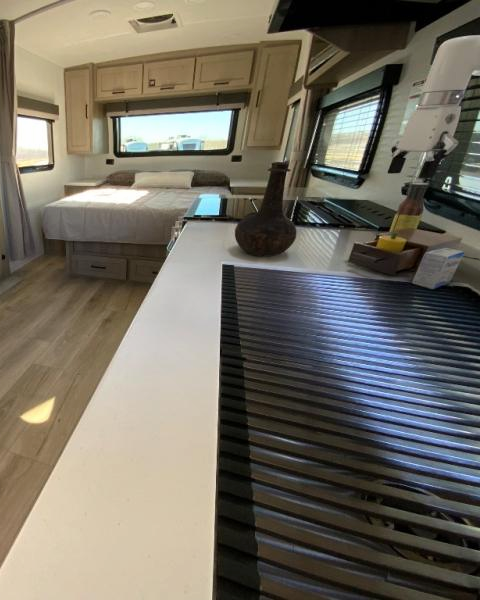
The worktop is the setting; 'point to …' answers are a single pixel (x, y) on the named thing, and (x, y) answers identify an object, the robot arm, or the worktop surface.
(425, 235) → the cabinet
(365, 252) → the drawer
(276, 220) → the glass bottle
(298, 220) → the worktop surface
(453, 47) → the robot arm
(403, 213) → the sauce bottle
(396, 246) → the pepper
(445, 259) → the medicine box
